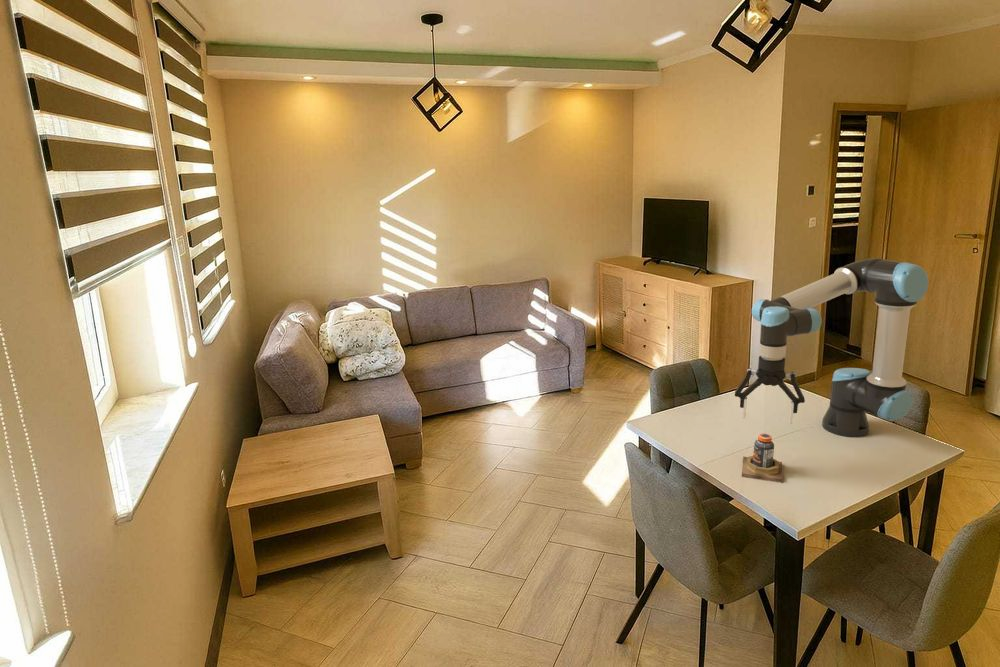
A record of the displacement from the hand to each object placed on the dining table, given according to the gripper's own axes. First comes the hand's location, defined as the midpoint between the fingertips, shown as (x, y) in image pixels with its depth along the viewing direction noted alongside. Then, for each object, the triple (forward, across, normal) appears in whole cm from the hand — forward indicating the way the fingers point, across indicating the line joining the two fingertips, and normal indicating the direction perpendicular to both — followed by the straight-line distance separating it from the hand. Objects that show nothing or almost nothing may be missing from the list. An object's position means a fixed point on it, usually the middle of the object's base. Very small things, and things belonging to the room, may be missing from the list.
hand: (767, 419), depth 194 cm
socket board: (+18, 0, 0) cm, 18 cm away
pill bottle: (+17, 0, 0) cm, 17 cm away
